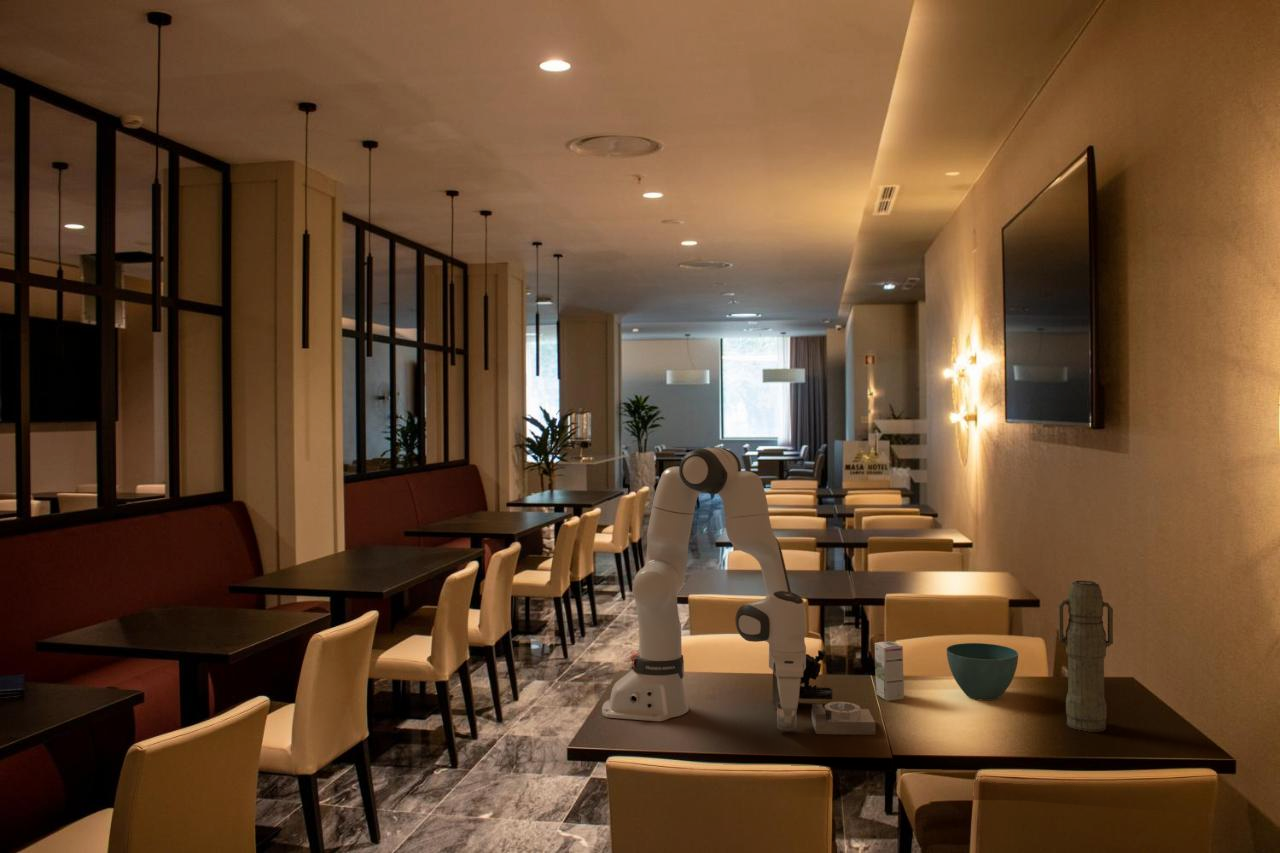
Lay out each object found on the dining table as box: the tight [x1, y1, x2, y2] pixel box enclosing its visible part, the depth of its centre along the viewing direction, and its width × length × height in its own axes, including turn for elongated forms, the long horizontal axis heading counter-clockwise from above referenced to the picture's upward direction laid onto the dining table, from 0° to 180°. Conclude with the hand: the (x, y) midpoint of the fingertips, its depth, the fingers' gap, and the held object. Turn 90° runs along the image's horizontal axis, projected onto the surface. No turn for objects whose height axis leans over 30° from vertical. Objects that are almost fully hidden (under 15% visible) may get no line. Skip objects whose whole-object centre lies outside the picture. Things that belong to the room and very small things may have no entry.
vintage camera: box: [771, 650, 833, 710], centre depth 248 cm, size 10×16×20 cm, turn 78°
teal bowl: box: [946, 642, 1019, 701], centre depth 255 cm, size 18×18×12 cm
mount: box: [810, 701, 876, 736], centre depth 231 cm, size 14×10×5 cm
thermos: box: [1058, 580, 1114, 733], centre depth 229 cm, size 9×12×35 cm
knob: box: [776, 700, 798, 731], centre depth 227 cm, size 5×5×6 cm
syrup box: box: [874, 640, 905, 702], centre depth 254 cm, size 6×6×14 cm
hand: (786, 717), depth 227 cm, fingers closed on knob, 5 cm apart
